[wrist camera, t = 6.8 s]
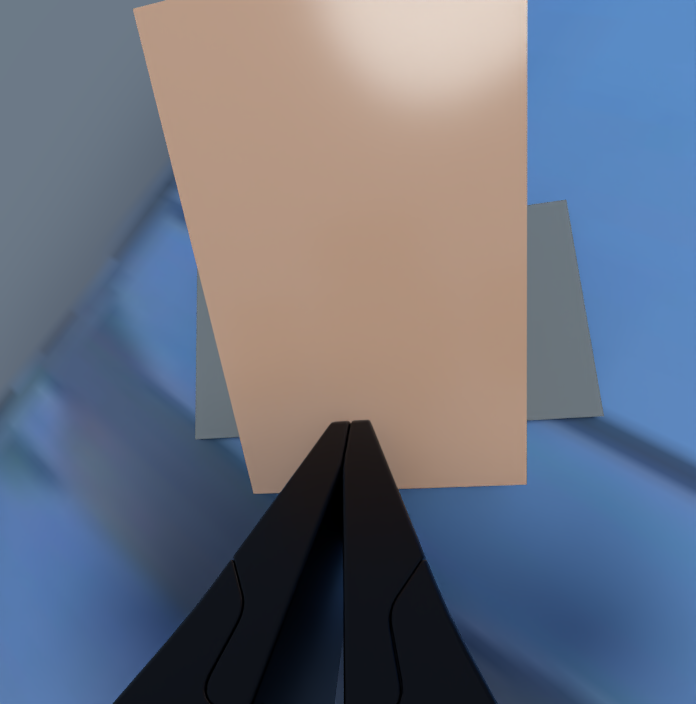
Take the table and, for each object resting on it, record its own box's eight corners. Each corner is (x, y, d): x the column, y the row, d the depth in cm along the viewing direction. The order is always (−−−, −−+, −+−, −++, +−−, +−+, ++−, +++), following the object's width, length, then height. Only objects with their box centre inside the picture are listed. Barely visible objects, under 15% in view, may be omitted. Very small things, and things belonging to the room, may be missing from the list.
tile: (526, 484, 12) (527, -92, 8) (253, 493, 14) (132, 8, 10) (510, 449, 14) (503, -35, 10) (271, 460, 16) (176, 42, 11)
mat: (596, 416, 14) (604, 416, 13) (203, 438, 16) (195, 439, 16) (560, 208, 15) (566, 199, 15) (204, 257, 18) (197, 252, 17)
